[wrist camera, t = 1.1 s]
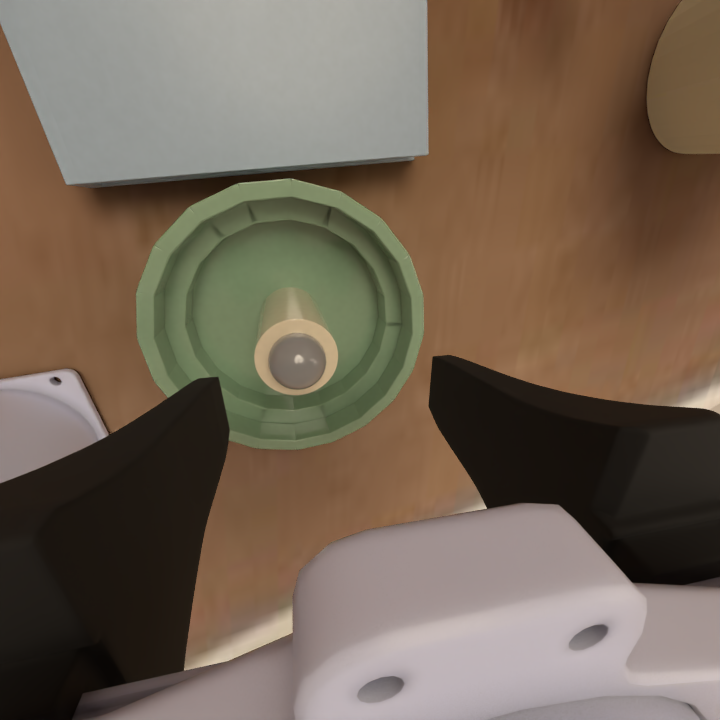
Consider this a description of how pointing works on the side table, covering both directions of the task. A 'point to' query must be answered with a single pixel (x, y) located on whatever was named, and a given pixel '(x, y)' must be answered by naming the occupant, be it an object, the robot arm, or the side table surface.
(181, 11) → the book
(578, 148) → the side table surface
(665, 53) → the reusable coffee cup
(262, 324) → the shaker
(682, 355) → the side table surface
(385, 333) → the bowl
